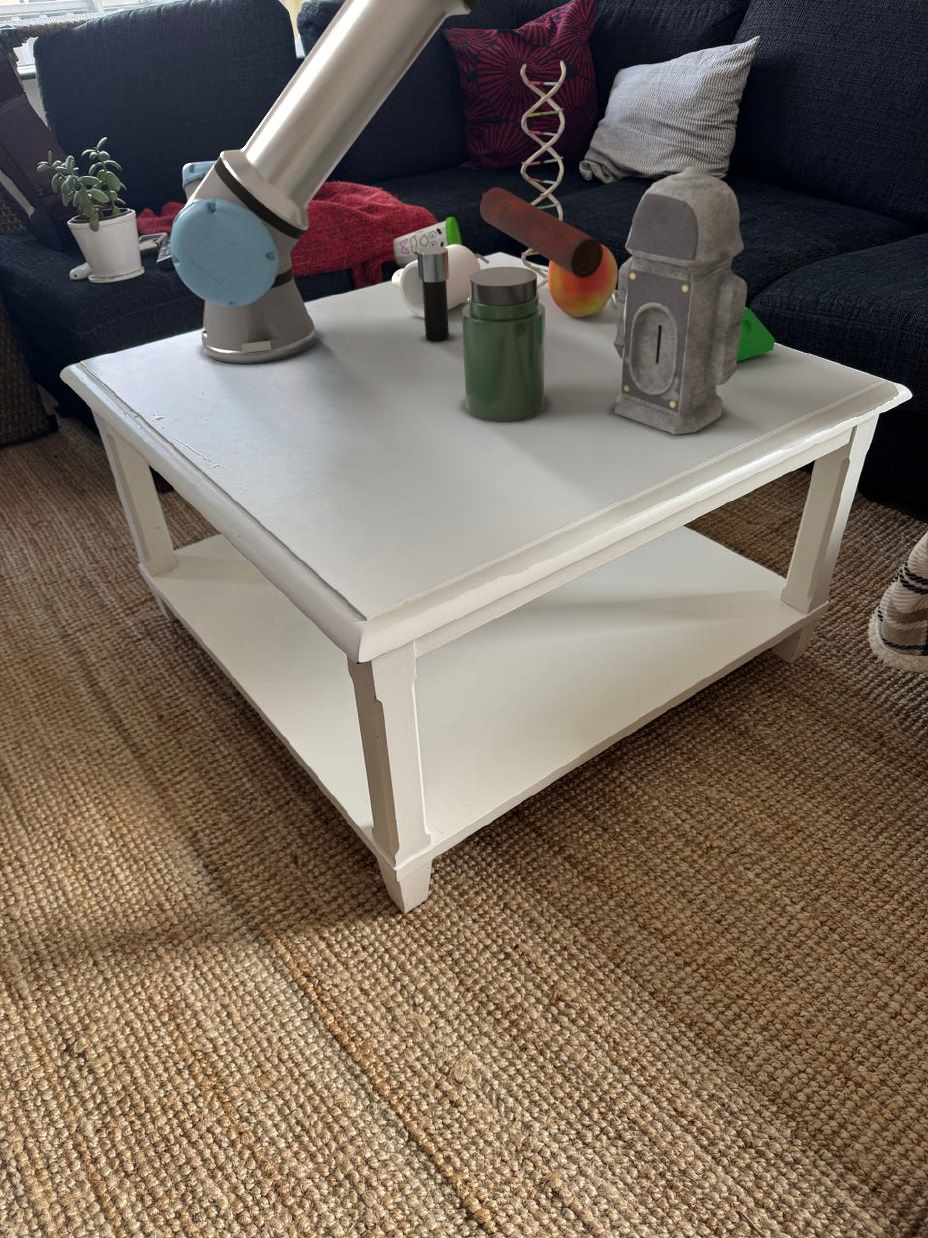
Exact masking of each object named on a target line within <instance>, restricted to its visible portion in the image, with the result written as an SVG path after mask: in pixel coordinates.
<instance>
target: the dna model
mask: <svg viewBox="0 0 928 1238" xmlns="http://www.w3.org/2000/svg"><path fill="white" fill-rule="evenodd" d="M559 65H560V69H561V76H560V77H559V80H558V81H556V82H555V81H554V82H551V81H550V82H549V81H546V82H541V81H532V80H529V79H528V78H527V75H526V73H525V72H526V69H527V64H526V63H524V64H523V65H522V67H521V69H520V76H521V79H522V81H523V83H524V84H525V85H526V86H528V88H530V89H531V90H532V91H533V92H535V93H536V94H537V95H539V96H540V97H541V98H540V99H539V100H538V101H537V102H536V103H535V104H533V105H532V106H531V107H530V108H529V109H528V110H527V111H526V112H525V113H524V114H523V115H522V118H521V124H520V125H521V128H522V130H523V131H524V133H525V134H526V135H527V136H529V137H531V138H532V140H535V141H536V142H537V143H538V144H539V145H541V148H540V149H538V150H537V151H536V152H534V154H533V155H531V156H530V157H529V158H528V159H527V160H525V161H521V164H522V166H521V169H520V174H521V175H522V178H523V179H525V181H527V182H528V183H529V184H531V185H532V186H533V187H535V188H536V189H537V190H539V191H540V192H542V193H540V196H539V197H537V198H536V199H534V200H533V201H532V202H530V204H531V205H533V206H536V205H537V204H538V203H540V202H541V201H543V200H544V199H546V198H548V199H549V200H550V201H551V202H552V203H553V204H550V205H549V204H548V205H544V206H536V207H537V208H539V209H541V210H543V209H548V208H555V207H556V209H557V212H558V219H559V220H561V221H563V219H564V218H563V217H564V212H563V208H562V205H561V202H560V201H558V200H557V198H556V197H555V196H554V195H553V194H552V193H553V191H554V190H555V189H556V188H557V187H558V185H560V184H561V182H562V179H563V175H564V169H565V168H564V164H563V159H564V156H560V155H558V153H557V152H556V151H555V150H554V148H553V147H551V146H553V145H554V144H555V143H556V142H557V141H558V139H559V138H560V137H561V135H562V133H563V132H564V129H565V122H566V120H565V115H564V114H563V111H564V110H565V108H561V107H560V106H559V105H558V104H557V103H556V102H554V100H553V99H552V98H551V97H552V96H553V95H555V93H557V92H558V90H559V88H560V87H561V86H562V84H563V83H564V80H565V78H566V75H567V67H566V64H565V62H564V61H563V60H560V62H559ZM541 83H542V84H543V85H545V86H553V88H551V89H550V90H549V92H547V94H546V93H545V92H543V91H542V90H540V89H539V88H538V87H537V86H535V85H541ZM545 102H547V103H548V104H549V105H550V106H551V107H552V108H553V109H554V110H553V111H544V112H542V113H541V112H535V113H534V111H535V110H536V109H538V108H539V107H540V106H542V105H543V104H544V103H545ZM553 114H558V116H559V120H560V124H559V127H558V130H557V133H552V132H545V131H544V132H543V131H542V132H541V131H535V130H529V128H528V124H527V118H528V117H529V118H530V117H537V116H544V115H553ZM542 134H544V135H545V136H551V137H552V138H551V139H550V140H549V141H548V142H544V141H542V140H541V139H540V138H539V137H538V136H537V135H542ZM546 151H547V152H548V153H549V154H550V155H551V156H552V157H553V159H547V160H544V164H546V163H553V162H557V163H558V165H559V172H558V174H557V175H558V176H557V179H556V181H555V180H554V181H553V180H541V179H536V178H531V177H530V176H529V175H528V174H527V173H526V170H527V168H528V166H529V167H530V166H534V165H540V164H541V161H534V160H535V159H536V158H538V157H539V156H540V155H542V154H543V153H544V152H546ZM533 161H534V162H533ZM541 182H543V183H545V184H552V185H551V186H550V187H549V188H548V189H547V188H545V187H543V186H542V185H541V184H540V183H541ZM532 255H540V254H539V253H537V252H536V251H534V250H533V249H531V248H528V249H527V250H526V251H524V252H521V262H522V263H523V265H524V267H527V269H529V270H532V271H534V272H535V273H536V274H537V275H539V276H541V277H542V278H543V280H542V281H540V282H539V283H537V290H539V289H540V288H542V287H543V286H544V285H546V284H548V274H547V273H548V269H544V268H542V267H538V266H533V265H532V264H531V263H530V262H528V261H527V260H526V257H527V256H532Z"/></svg>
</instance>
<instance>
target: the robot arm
mask: <svg viewBox="0 0 928 1238" xmlns="http://www.w3.org/2000/svg"><path fill="white" fill-rule="evenodd" d="M479 1H480V0H345V1H344V2H343V4H342V5H341V7H340V8H339V10H337V12H336V14H335V16H334V17H333V18H332V20H331V21H330V22H329V24H328V25H327V27H326V28H325V30H324V31H323V33H321V35H320V37H319V38H318V40H317V41H316V43H315V44H314V46H313V47H312V49H311V50H310V51H309V53H308V54H307V56H306V57H305V59H304V60H303V62H302V63H301V64H300V65H299V67H298V69H297V70H296V72H295V73H294V74H293V76H292V78H291V79H290V80H289V82H288V83H287V84H286V86H285V88H284V89H283V91H282V92H281V94H280V95H279V97H278V98H277V99H276V101H275V102H274V103H273V105H272V107H271V108H270V109H269V111H268V112H267V114H266V115H265V117H264V118H263V120H262V121H261V123H260V124H259V125H258V127H257V128H256V129H255V131H254V132H253V134H252V136H251V137H250V138H249V140H248V141H247V143H246V144H245V146H244V147H243V148H240V149H231V150H223V151H222V152H221V153H220V155H219V157H218V158H217V160H209V161H197V162H190V163H189V162H188V163H186V164H185V165H184V166H183V168H182V173H181V174H182V188H183V191H184V192H185V195H186V200H187V201H186V204H185V205H184V207H183V208H182V209H181V210H180V211H179V212H178V213H177V215H176V216H175V218H174V219H173V222H172V225H171V230H170V235H169V236H170V240H169V242H170V243H169V248H170V249H169V251H170V257H171V261H172V263H173V266H174V268H175V271H176V273H177V275H178V276H179V278H180V279H181V281H182V282H183V283H184V285H185V286H186V287H187V288H188V289H189V290H190V291H191V292H192V293H194V294H195V295H196V296H198V297H199V298H201V299H202V300H204V307H203V308H204V309H203V323H202V325H203V326H202V329H201V343H202V347H203V352H204V354H206V356H207V357H209V358H212V359H214V360H216V361H220V362H225V363H234V364H254V363H255V364H256V363H264V362H265V363H267V362H272V361H277V360H281V359H282V360H283V359H286V358H289V357H292V356H295V355H298V354H300V353H303V352H305V351H306V350H308V349H310V348H311V347H312V346H313V345H314V344H315V343H316V340H317V334H316V327H315V324H314V320H313V319H312V317H311V316H310V314H309V312H308V310H307V307H306V305H305V302H304V300H303V298H302V295H301V293H300V291H299V288H298V287H297V285H296V282H295V281H296V280H295V276H294V269H293V263H292V257H291V252H292V250H293V249H294V248H295V246H296V245H297V244H298V242H299V241H300V240H301V238H302V237H303V236H304V234H305V233H306V231H307V230H308V229H309V227H310V221H309V215H308V207H309V206H308V205H309V203H310V202H311V201H312V200H313V198H314V197H315V196H316V194H317V193H318V191H320V189H321V187H322V186H323V185H324V183H325V182H326V181H327V179H328V178H329V177H330V175H331V174H332V172H334V169H335V168H336V167H337V165H338V164H339V163H340V162H341V160H342V159H343V157H344V156H345V155H346V153H347V152H348V151H349V149H350V148H351V147H352V146H353V144H354V143H355V141H356V140H357V139H358V137H359V136H360V135H361V133H362V132H363V131H364V129H365V128H366V126H367V125H368V124H369V122H371V120H372V118H373V117H374V116H375V114H376V113H377V112H378V111H379V109H380V108H381V106H382V105H383V103H384V102H385V101H386V99H387V98H388V97H389V96H390V94H391V93H392V91H393V90H394V89H395V87H396V86H397V85H398V83H399V82H400V81H401V80H402V78H403V77H404V76H405V74H406V73H407V71H408V70H409V68H410V67H411V66H412V65H413V63H414V62H415V61H416V59H417V58H418V57H419V55H420V54H421V52H422V51H423V50H424V48H425V47H426V46H427V44H428V43H429V41H431V39H432V37H433V36H434V35H435V33H436V32H437V31H438V29H440V27H441V25H442V24H443V23H444V21H446V19H447V18H448V17H451V16H459V15H461V16H462V15H469V14H470V13H471V12H472V10H473V9H474V8H475V6H476V5H477V4H478V2H479Z"/></svg>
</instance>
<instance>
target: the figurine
mask: <svg viewBox="0 0 928 1238" xmlns="http://www.w3.org/2000/svg"><path fill="white" fill-rule="evenodd" d="M740 219H741V218H740V208H739V204H738V198H737V197H736V194H735V192H734V190H733V189H732V188H731V187H730V186H729V185H728V183H727V182H726V181H723V180H721V179H719V178H717V177H715V176H712V175H710V174H706V173H703V172H700V169H698V167H697V166H695V165H689V166H688V167H685V169H684V170H683V171H682V172H679V173H675V174H670V175H669V176H667V177H664V178H662V179H660V180H658V181H655V182H653V183H652V184H651V186H650V187H649V188H648V189H647V190H645V193H644V194H643V195H642V197H641V199H640V201H639V203H638V206H637V208H636V210H635V212H634V215H633V217H632V220H631V221H632V222H631V227H630V230H629V232H628V233H629V234H628V236H627V241H626V243H625V245H624V248H625V249H626V251H627V252H628V253H629V254H630V255H631V256H630V257H629V258H628V259H626V261H625V262H624V263H622V264H621V266H620V268H619V269H618V278H617V282H618V283H617V302H618V306H617V307H616V311H617V312H616V337H615V339H614V341H613V343H612V345H613V346H614V349H615V350H616V352H617V354H618V356H619V358H620V359H621V360H622V369H621V371H622V372H621V385H620V386H621V387H620V388H621V392H620V393H619V394H618V395H617V398H616V400H615V405H614V406H615V408H614V414H616V415H619V416H621V417H624V418H627V419H630V420H633V421H636V422H638V423H641V424H644V425H647V426H650V427H653V428H655V429H658V430H661V431H664V432H668V433H670V434H672V435H685V434H691V433H696V432H697V431H699V430H702V429H703V428H704V427H706V426H708V425H709V424H712V423H713V422H714V421H716V420H717V419H719V418H720V417H721V416H722V412H723V411H722V410H723V399H722V397H721V396H720V395H718V393H717V387H719V386H721V385H724V384H726V383H728V382H729V380H730V379H731V377H732V376H733V375H734V374H735V373H736V371H737V370H738V364H737V362H736V357H737V353H738V349H739V342H740V335H741V328H742V319H743V314H744V308H745V307H746V301H747V294H748V284H747V283H746V281H745V280H744V279H743V278H741V277H740V276H738V275H736V274H734V271H733V270H732V269H731V268H732V263H733V259H734V258H735V257H736V256H737V255H739V254H740V253H742V252H743V250H744V248H745V247H744V242H743V239H742V235H741V230H740Z"/></svg>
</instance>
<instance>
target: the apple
mask: <svg viewBox="0 0 928 1238" xmlns="http://www.w3.org/2000/svg"><path fill="white" fill-rule="evenodd" d="M600 244H601V246H602V248H603V257H602V261H601V264H600V266H599V267H598V269H597V270H596V271H595V272H594V273H593V274H592V275H590V276H588V277H585V278H580V277H577V276H576V275H574V274H572V273H571V272H569V271H567V270H566V269H564V268H562V267H561V266H559V265H557V264H556V263H554V262H552V261H551V260H549V263H548V269H547V270H548V272H547V276H548V282H547V285H548V290H549V294H550V297H551V299H552V300H553V302H554V304H555V305H556V307H557V308H559V309H560V310H561V311H562V312H564V313H565V314H566V315H568V316H571V317H573V318H582V317H588V316H591V315H594V314H597V313H599V312H600V311H601V310H603V309H604V308H605V306H606V305H607V304H608V303H609V301H610V299H611V298H612V297H613V296H612V294H613V292H614V290H615V291H616V286H617V284H618V283H617V282H618V278H619V269H618V265H617V261H616V258H615V256H614V254H613V253H612V252H611V250H610V249H609V248H608V247H606V246H605V245H604V244H602V243H600Z"/></svg>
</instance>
